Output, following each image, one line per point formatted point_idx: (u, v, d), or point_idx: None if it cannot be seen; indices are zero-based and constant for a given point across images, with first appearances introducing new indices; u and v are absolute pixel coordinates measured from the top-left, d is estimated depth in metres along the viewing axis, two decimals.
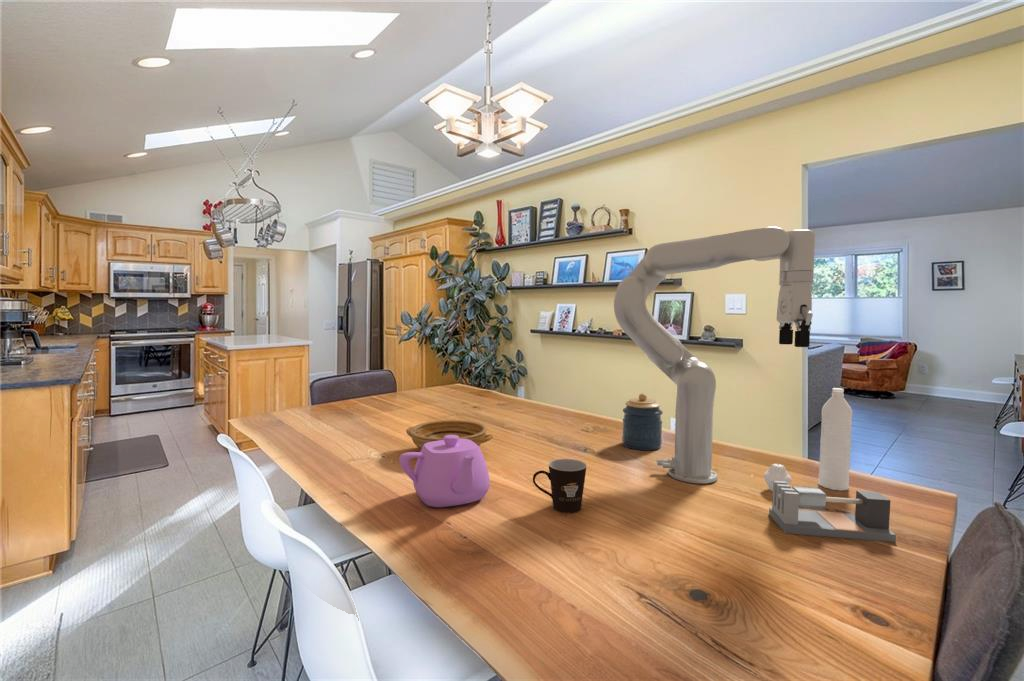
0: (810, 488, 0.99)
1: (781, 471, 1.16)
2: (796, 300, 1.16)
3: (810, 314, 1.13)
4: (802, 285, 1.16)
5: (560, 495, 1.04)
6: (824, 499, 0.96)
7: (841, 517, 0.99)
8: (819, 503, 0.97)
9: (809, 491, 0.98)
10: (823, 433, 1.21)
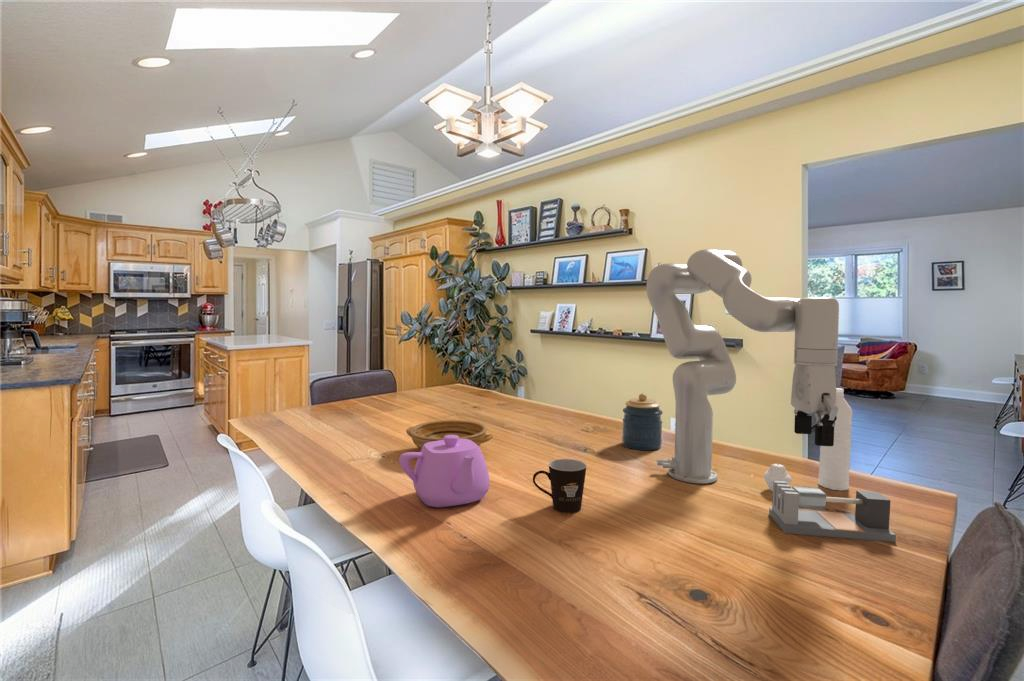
0: (810, 488, 0.99)
1: (781, 471, 1.16)
2: (816, 387, 0.92)
3: (835, 408, 0.89)
4: (824, 368, 0.92)
5: (560, 495, 1.04)
6: (824, 499, 0.96)
7: (841, 517, 0.99)
8: (819, 503, 0.97)
9: (809, 491, 0.98)
10: None
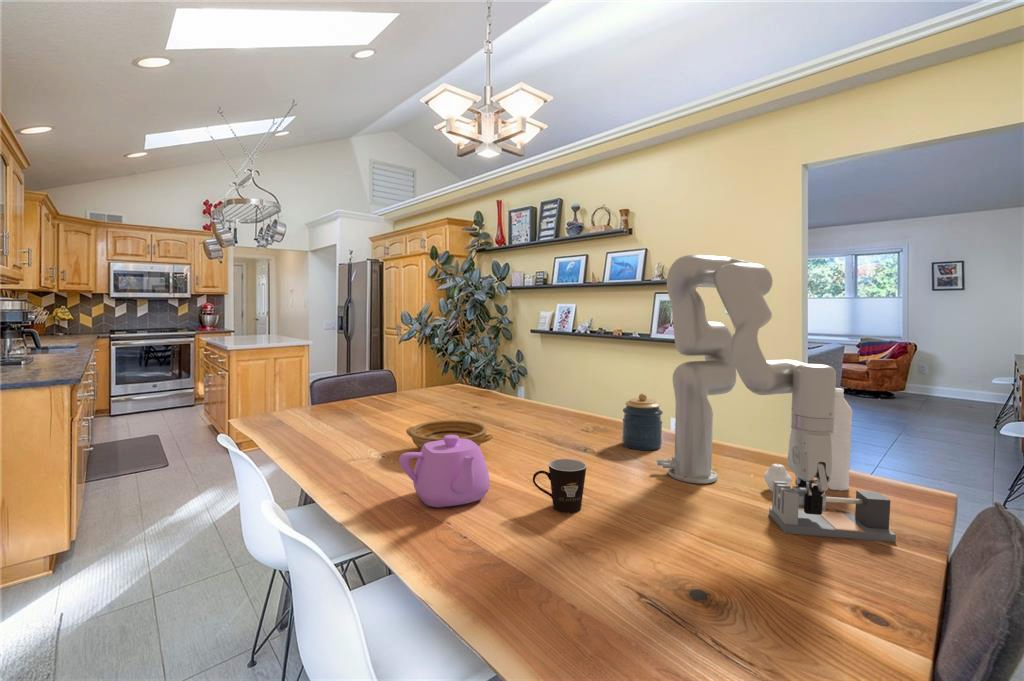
0: None
1: (781, 471, 1.16)
2: (812, 456, 0.93)
3: (825, 488, 0.92)
4: (820, 437, 0.93)
5: (560, 495, 1.04)
6: (824, 499, 0.96)
7: (841, 517, 0.99)
8: None
9: None
10: None
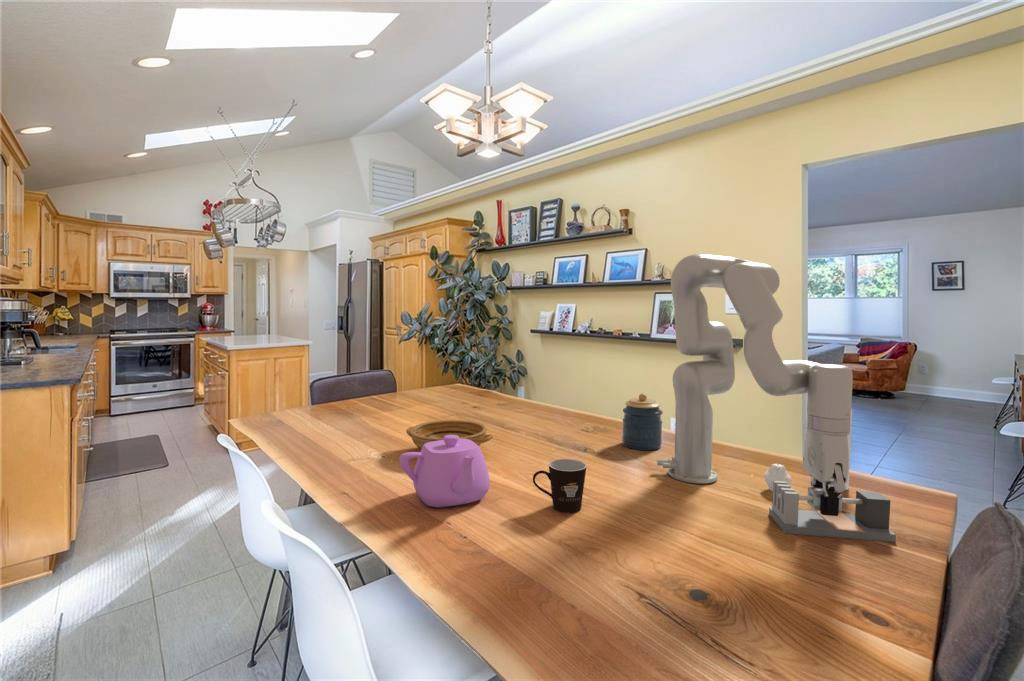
0: None
1: (781, 471, 1.16)
2: (829, 457, 0.93)
3: (842, 489, 0.91)
4: (837, 438, 0.93)
5: (560, 495, 1.04)
6: (840, 500, 0.96)
7: (841, 517, 0.99)
8: None
9: None
10: None
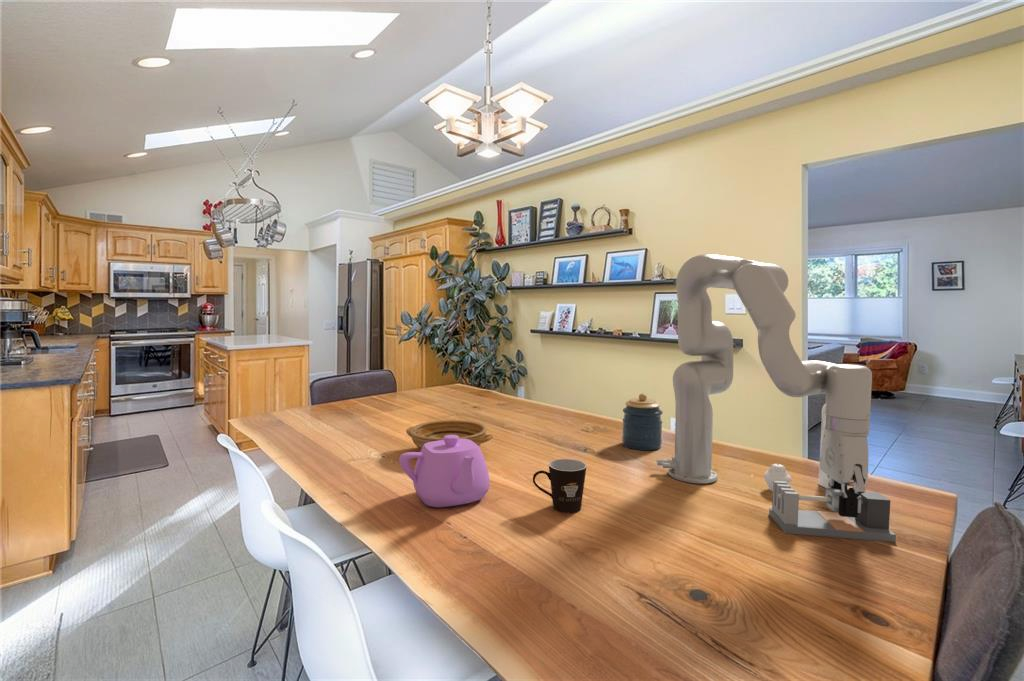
0: None
1: (781, 471, 1.16)
2: (848, 458, 0.92)
3: (862, 490, 0.91)
4: (856, 439, 0.92)
5: (560, 495, 1.04)
6: (859, 501, 0.95)
7: (841, 517, 0.99)
8: None
9: None
10: (823, 433, 1.21)
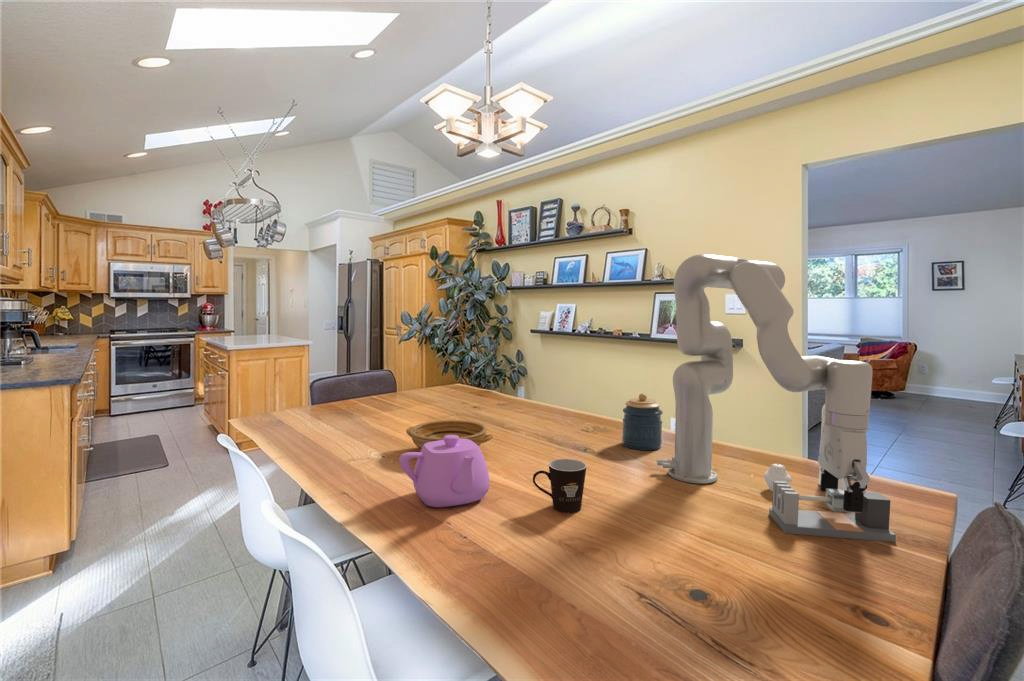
0: None
1: (781, 471, 1.16)
2: (847, 453, 0.92)
3: (866, 478, 0.89)
4: (855, 435, 0.92)
5: (560, 495, 1.04)
6: None
7: (841, 517, 0.99)
8: None
9: None
10: None
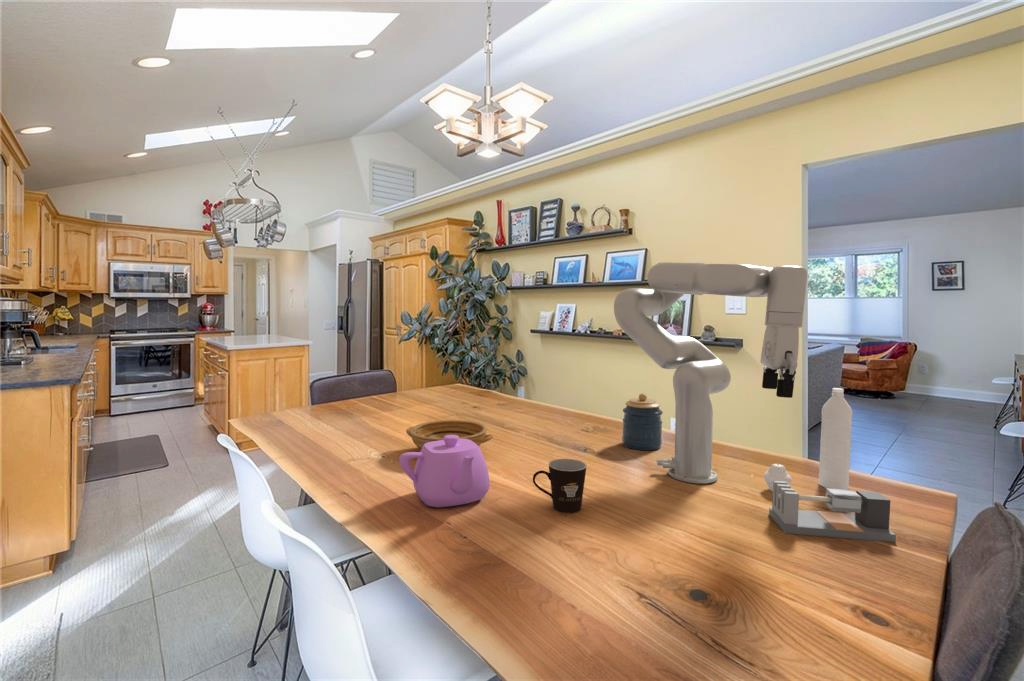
0: (844, 490, 0.98)
1: (781, 471, 1.16)
2: (781, 345, 1.05)
3: (794, 363, 1.01)
4: (789, 329, 1.04)
5: (560, 495, 1.04)
6: (859, 501, 0.95)
7: (841, 517, 0.99)
8: (854, 505, 0.95)
9: (844, 493, 0.97)
10: (823, 433, 1.21)
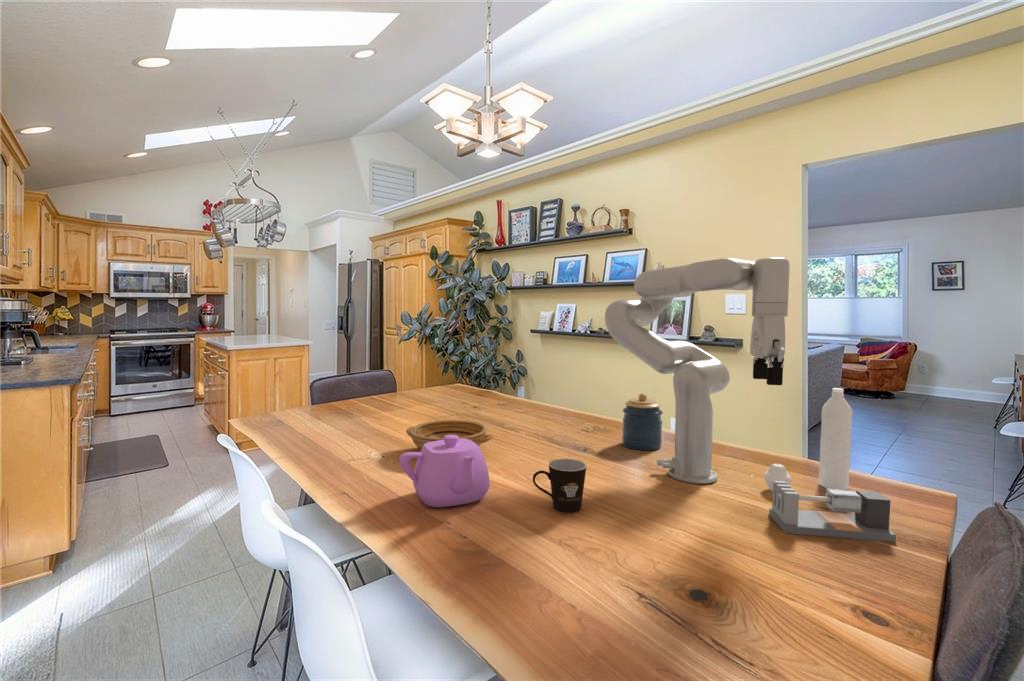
0: (844, 490, 0.98)
1: (781, 471, 1.16)
2: (768, 334, 1.07)
3: (782, 351, 1.04)
4: (775, 318, 1.07)
5: (560, 495, 1.04)
6: (859, 501, 0.95)
7: (841, 517, 0.99)
8: (854, 505, 0.95)
9: (844, 493, 0.97)
10: (823, 433, 1.21)
